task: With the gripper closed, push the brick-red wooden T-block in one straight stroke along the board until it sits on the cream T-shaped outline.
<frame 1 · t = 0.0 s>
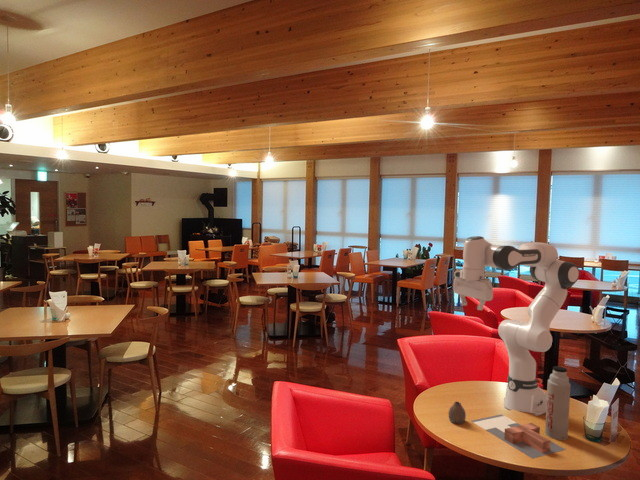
hand: (471, 307, 193), 48 cm above the table, tool pointing down, fingers open, 8 cm apart
vase: (456, 423, 191), on the table
board: (515, 436, 181), on the table
t block: (527, 441, 175), point 1 cm above the table, touching board
thermos bottle: (556, 437, 181), on the table
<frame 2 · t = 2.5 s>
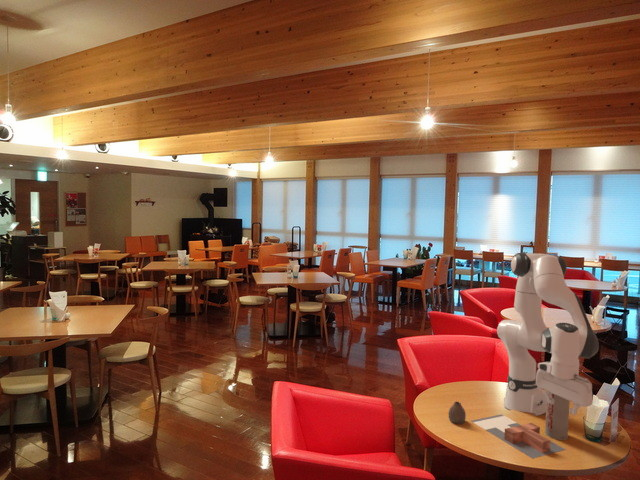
hand: (561, 408, 161), 19 cm above the table, tool pointing down, fingers open, 8 cm apart
nothing on the table moved.
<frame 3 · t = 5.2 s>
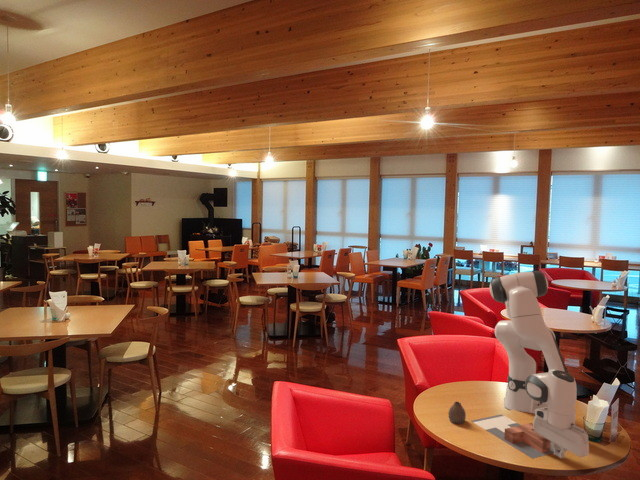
hand: (558, 456, 163), 2 cm above the table, tool pointing down, fingers closed
thermos bottle: (556, 437, 181), on the table, touching arm
everything else where it was.
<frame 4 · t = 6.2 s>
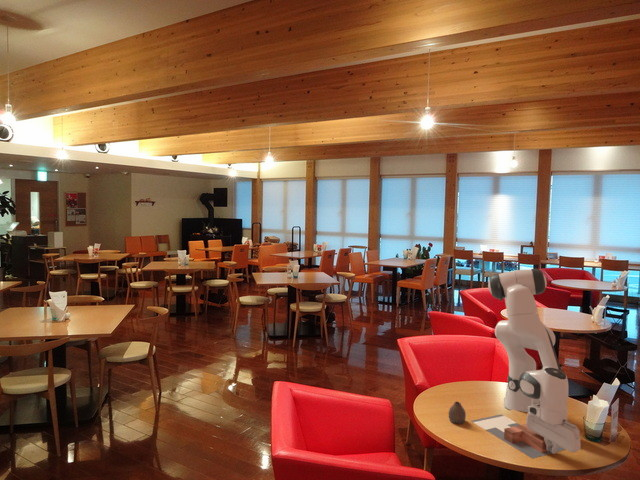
hand: (551, 451, 166), 2 cm above the table, tool pointing down, fingers closed
t block: (526, 440, 175), point 1 cm above the table, touching gripper
thermos bottle: (556, 436, 181), on the table
everything else where it was.
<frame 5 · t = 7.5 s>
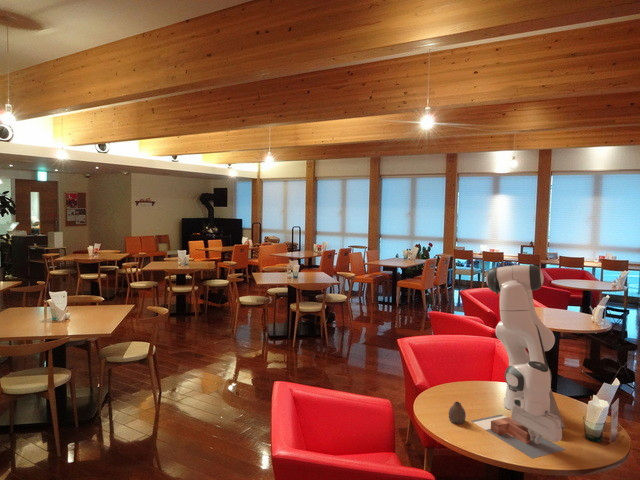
hand: (534, 442, 172), 2 cm above the table, tool pointing down, fingers closed
t block: (512, 432, 182), point 1 cm above the table, touching gripper
thermos bottle: (554, 429, 182), point 3 cm above the table, touching arm
everything else where it was.
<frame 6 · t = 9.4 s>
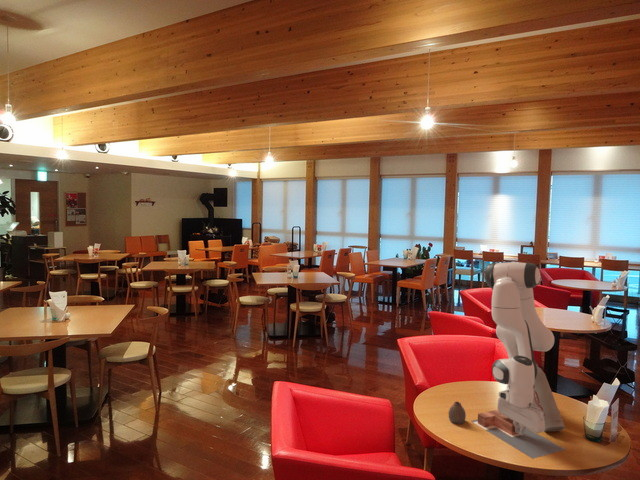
hand: (519, 433, 179), 2 cm above the table, tool pointing down, fingers closed
t block: (498, 425, 188), point 1 cm above the table, touching board, gripper
everything else where it was.
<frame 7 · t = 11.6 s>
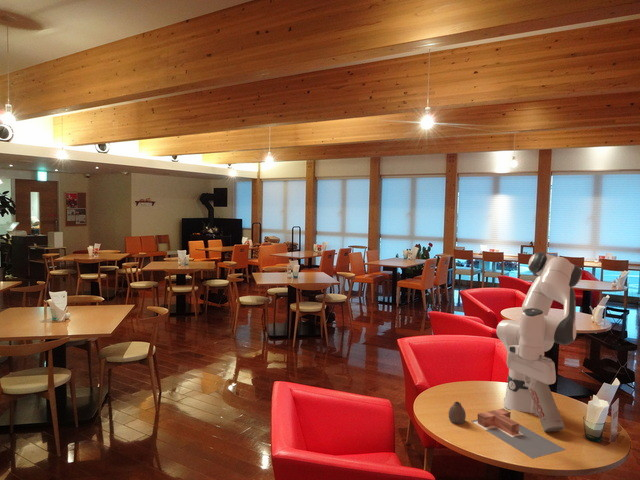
hand: (529, 387, 175), 22 cm above the table, tool pointing down, fingers closed
t block: (498, 424, 188), point 1 cm above the table, touching board
everything else where it was.
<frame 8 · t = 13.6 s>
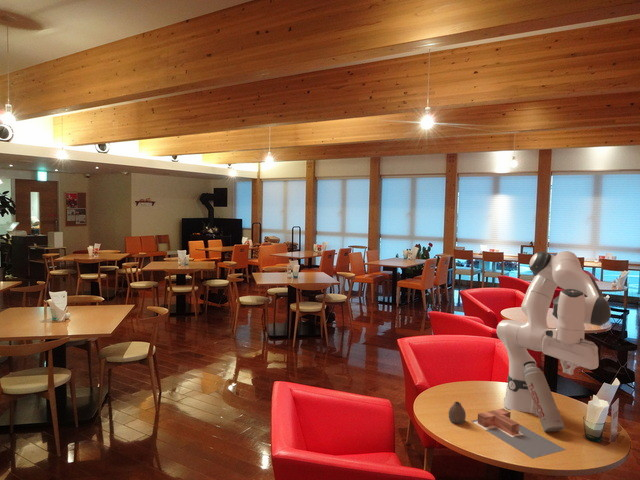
hand: (567, 373, 164), 31 cm above the table, tool pointing down, fingers closed
nothing on the table moved.
at the end: t block 0.6 cm from the target spot, point 1.0 cm above the table; t block tilted 0° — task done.
